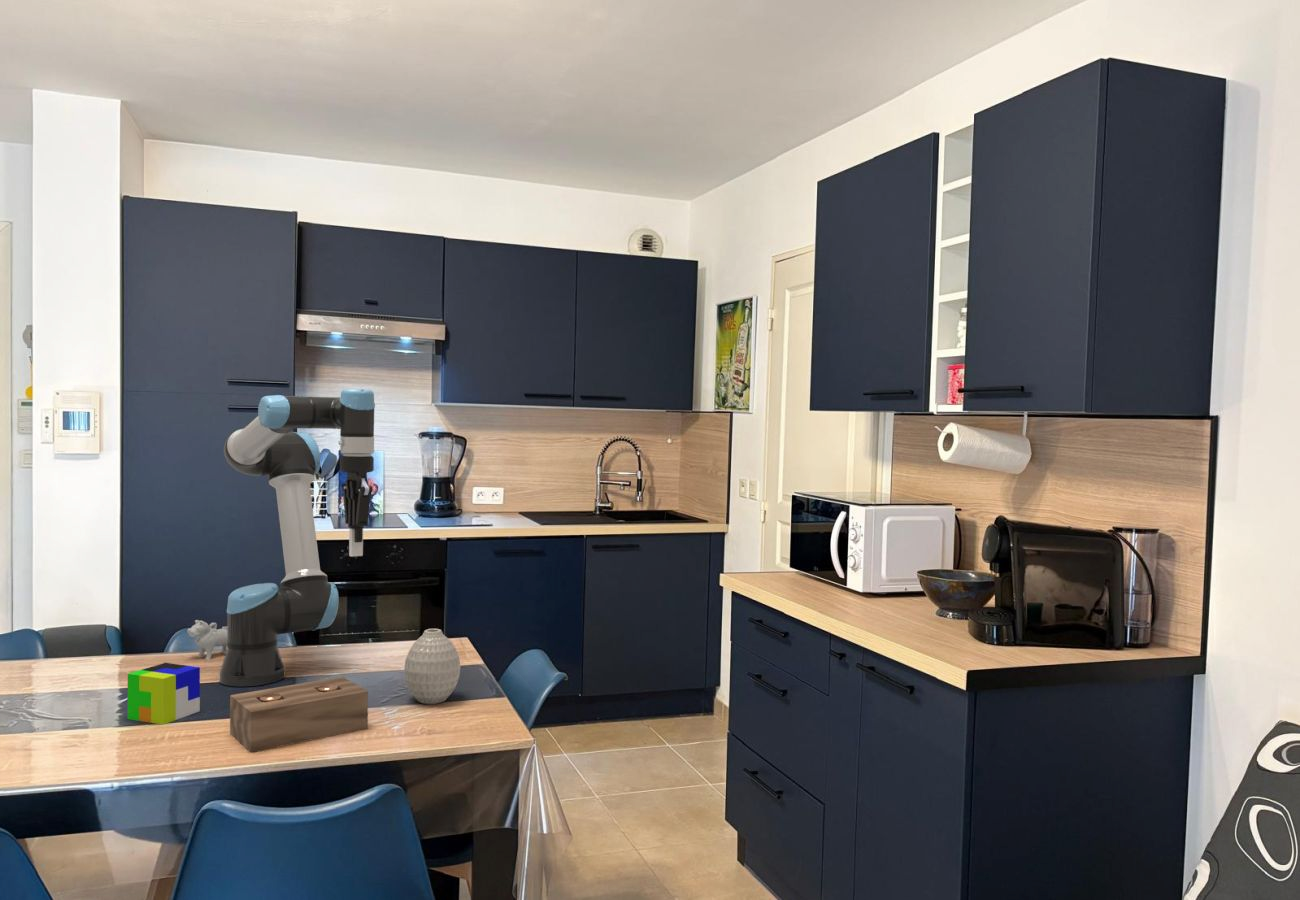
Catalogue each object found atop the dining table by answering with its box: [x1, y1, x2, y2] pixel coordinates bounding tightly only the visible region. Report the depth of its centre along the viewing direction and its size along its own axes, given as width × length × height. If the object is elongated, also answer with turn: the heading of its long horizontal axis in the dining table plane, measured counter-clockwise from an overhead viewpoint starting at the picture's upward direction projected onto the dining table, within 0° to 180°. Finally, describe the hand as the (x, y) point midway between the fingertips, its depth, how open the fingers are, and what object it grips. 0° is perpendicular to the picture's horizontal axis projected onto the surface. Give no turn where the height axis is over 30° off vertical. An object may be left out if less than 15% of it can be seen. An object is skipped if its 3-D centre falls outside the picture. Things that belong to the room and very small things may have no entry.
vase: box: [403, 628, 461, 705], centre depth 218 cm, size 13×13×17 cm
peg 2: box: [318, 684, 338, 693], centre depth 199 cm, size 4×4×8 cm
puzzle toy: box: [127, 662, 201, 726], centre depth 204 cm, size 10×10×10 cm
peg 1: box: [260, 694, 281, 703], centre depth 192 cm, size 4×4×8 cm
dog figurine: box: [186, 619, 227, 661], centre depth 254 cm, size 5×13×11 cm, turn 145°
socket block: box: [229, 676, 369, 753], centre depth 196 cm, size 14×24×8 cm, turn 130°
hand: (355, 555), depth 216 cm, fingers closed
